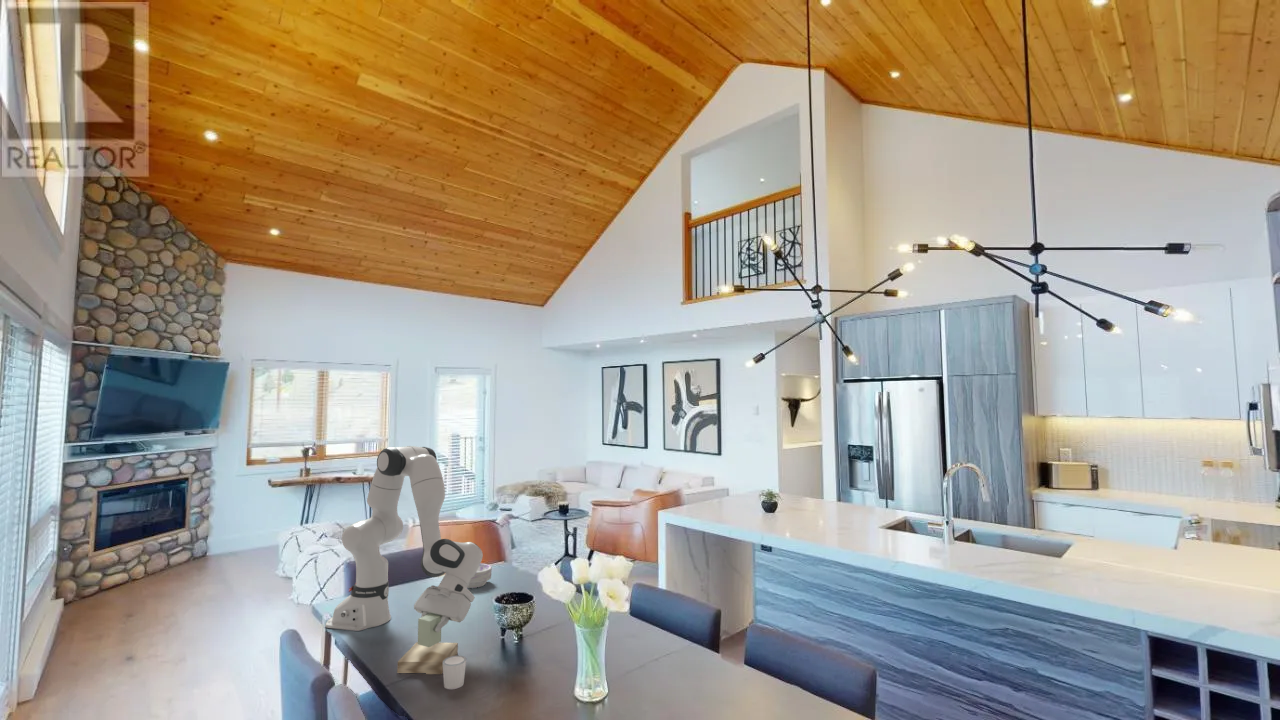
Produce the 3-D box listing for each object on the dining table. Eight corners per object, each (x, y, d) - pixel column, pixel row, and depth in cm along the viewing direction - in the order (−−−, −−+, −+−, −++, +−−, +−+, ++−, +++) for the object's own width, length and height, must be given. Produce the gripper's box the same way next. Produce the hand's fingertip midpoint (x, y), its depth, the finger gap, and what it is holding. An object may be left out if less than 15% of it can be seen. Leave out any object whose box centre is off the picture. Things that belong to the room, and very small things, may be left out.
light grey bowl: (497, 581, 262) (497, 563, 262) (480, 591, 247) (481, 573, 248) (468, 578, 265) (468, 561, 266) (449, 589, 251) (450, 571, 251)
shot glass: (470, 680, 169) (471, 657, 169) (456, 692, 162) (456, 667, 163) (451, 677, 171) (452, 653, 172) (436, 688, 165) (437, 663, 165)
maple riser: (397, 675, 173) (397, 661, 174) (416, 654, 187) (416, 642, 188) (441, 675, 173) (442, 662, 173) (457, 655, 187) (457, 642, 187)
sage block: (417, 644, 179) (418, 618, 180) (429, 638, 184) (430, 613, 185) (428, 647, 177) (429, 621, 178) (441, 641, 182) (441, 615, 182)
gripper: (424, 580, 193) (400, 619, 183) (469, 588, 183) (446, 630, 174) (434, 589, 196) (410, 628, 187) (478, 598, 187) (456, 639, 178)
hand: (428, 629), depth 180 cm, fingers closed on sage block, 5 cm apart
